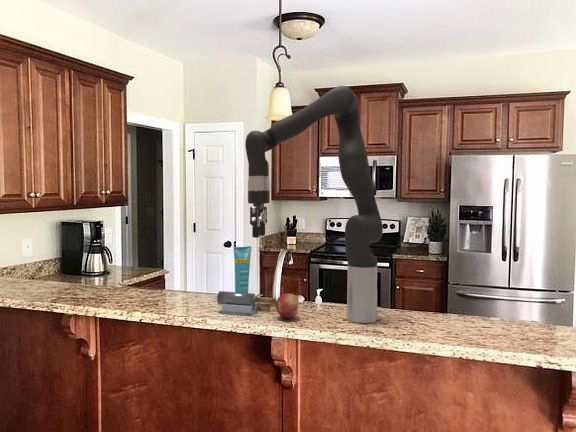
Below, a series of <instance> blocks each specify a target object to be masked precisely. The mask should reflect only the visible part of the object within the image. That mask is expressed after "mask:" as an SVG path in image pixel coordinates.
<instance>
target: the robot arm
mask: <svg viewBox="0 0 576 432" xmlns="http://www.w3.org/2000/svg"><path fill="white" fill-rule="evenodd" d="M332 115H333V117H334V120H335V124H336V127H337V133H338V151H337V152H338V155H337V156H338V164H339V170H340V175H341V178H342V180H343V184H344V185H345V186H346V188H347V190H348V191H349V193H350V194H351V196H352V198H353V200H354V201H355V205H356V208H357V212H358V214H356V215H352V216H350V217H349V218H348V219H347V222H346V223H345V228H344V247H345V248H344V249H345V251H344V252H345V257H346V260H347V287H346V289H347V291H346V293H347V294H346V298H347V299H346V320H347V321H349V322H353V323H357V324H359V323H360V324H369V323H377V319H378V317H377V316H378V314H377V313H378V257H377V256H376V255H374V254H372V252H371V250H370V244H375V243H378V242H379V241H380V240H381V239H382V237H383V233H384V229H383V228H384V226H383V220H382V217H381V214H380V212H379V207H378V204H377V200H376V197H375V192H374V186H373V182H372V176H371V170H370V164H369V159H368V154H367V150H366V145H365V141H364V138H363V135H362V132H361V131H362V130H361V125H360V111H359V101H358V98H357V96H356V94H355V93H354V91H353V90H352V88H351V87H348V86H347V85H338V86H335V87H333V88H332V89H330V90H329V91H328V92H326V93H325V94H322V96H320V97H319V98H317V99H316V100H314V101H313V102H311V103H310V104H308V105H306V106H305V107H304V108H302V109H300V110H298V111H296V112H295V113H292V114H290V115H288V116H285V117H284V118H282V119H279V120H278V121H275V122H274V123H272V125H271V126H270V128H268V129H266V130H264V131H262V132H261V131H259V130H252V131H250V132H249V133H248V134H247V135H246V137H245V144H244V146H245V153H246V159H247V163H248V167H247V168H248V171H247V172H248V176H247V177H248V179H247V203H248V204H251V205H252V204H253V205H252V206H250V208H249V224H250V226H251V227H252V228H251V229H252V234H251V235H252V238H254V239H258V238H260V237H261V236H262V237H265V236H266V225H267V223H268V207H267V206H265V204H269V203H271V201H270V198H271V196H270V195H271V194H270V192H271V191H270V185H271V184H270V177H269V176H270V175H269V174H270V172H269V171H270V170H269V169H270V168H269V166H270V165H269V161H268V160H267V157H266V153H267V152H269V151H272V150H273V149H274V148H276V147H277V146H279V145H280V144H282V143H283V142H285V141H288V140H290V139H293V138H294V137H297V136H299V135H300V134H302V133H303V132H304V131H306V130H307V129H308V128H310V127H311V126H312V125H314V124H315V123H316V122H318V121H319V120H322V119H323V118H327V117H329V116H332Z"/></svg>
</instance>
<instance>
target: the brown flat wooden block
mask: <svg viewBox="0 0 576 432" xmlns="http://www.w3.org/2000/svg"><path fill="white" fill-rule="evenodd" d="M276 301H277V298H274V297H259V296H258V297H257V296H256V303H257V312H258V311H260V312H261V311H262V312H271V311H272V309H271V308H272V307H276V306H275V303H276Z"/></svg>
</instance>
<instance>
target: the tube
mask: <svg viewBox="0 0 576 432" xmlns="http://www.w3.org/2000/svg"><path fill="white" fill-rule="evenodd" d="M251 254H252V245H250V246H249V245H247V246H233V258H234V278H235V279H234V280H235V283H234V285H235V287H234V288H235V292H239V293H249V284H250V283H249V282H250V281H249V280H250V269H251V268H250V267H251V256H252V255H251Z"/></svg>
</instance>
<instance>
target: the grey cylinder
mask: <svg viewBox="0 0 576 432" xmlns="http://www.w3.org/2000/svg"><path fill="white" fill-rule="evenodd" d="M256 297H257V296H256V294H255V293H251V292H250V293H249V292H248V293H239V292H234V291H224V290H223V291H222V290H220V291H218V293H217V297H216V302H217V305H221V306H222V305H223V304H233V305H247V306H252V307H254V306H255V302H256Z"/></svg>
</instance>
